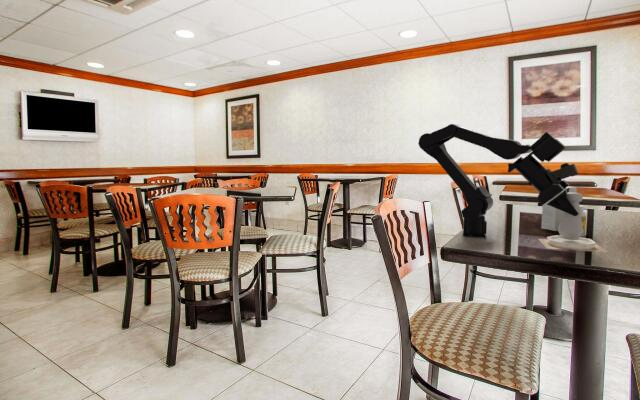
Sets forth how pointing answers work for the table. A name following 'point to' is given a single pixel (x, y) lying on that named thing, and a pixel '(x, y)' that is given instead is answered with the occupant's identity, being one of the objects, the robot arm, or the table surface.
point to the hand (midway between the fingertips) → (577, 214)
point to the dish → (571, 243)
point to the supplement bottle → (583, 219)
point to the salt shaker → (571, 219)
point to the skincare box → (553, 214)
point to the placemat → (545, 243)
